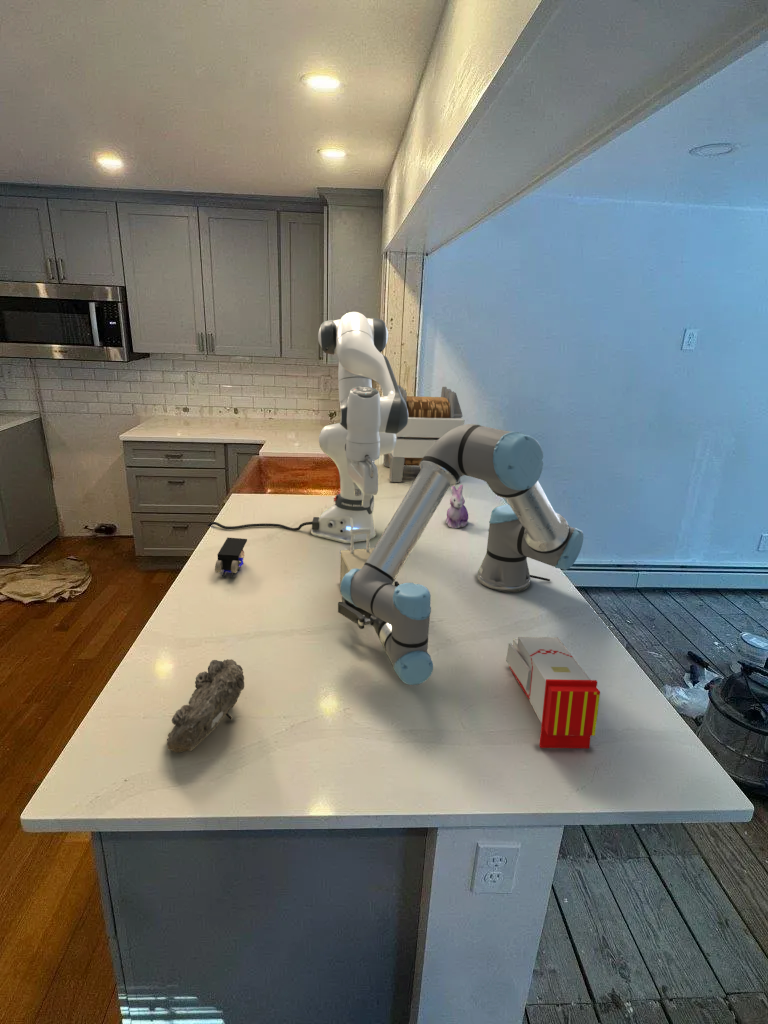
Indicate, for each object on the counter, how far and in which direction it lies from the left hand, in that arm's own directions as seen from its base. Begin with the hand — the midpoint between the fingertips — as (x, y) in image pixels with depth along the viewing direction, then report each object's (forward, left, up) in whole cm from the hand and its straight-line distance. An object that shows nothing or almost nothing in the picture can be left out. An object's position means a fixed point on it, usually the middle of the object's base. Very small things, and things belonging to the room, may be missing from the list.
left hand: (361, 500), depth 153 cm
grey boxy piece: (-10, +122, -26) cm, 125 cm away
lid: (+2, -4, -16) cm, 17 cm away
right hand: (+7, -13, -19) cm, 24 cm away
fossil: (-9, -61, -26) cm, 67 cm away
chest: (+3, -4, -26) cm, 26 cm away
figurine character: (-38, -4, -26) cm, 46 cm away
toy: (+52, -35, -26) cm, 68 cm away
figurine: (+19, +60, -26) cm, 68 cm away
